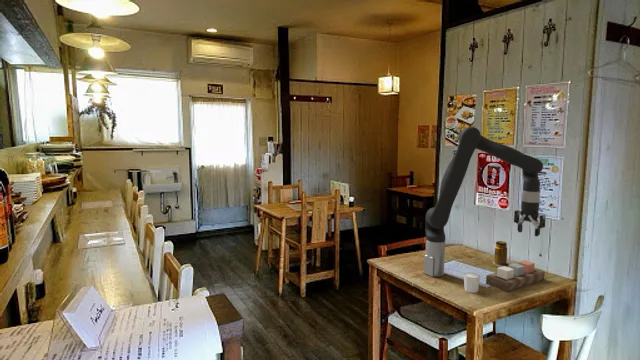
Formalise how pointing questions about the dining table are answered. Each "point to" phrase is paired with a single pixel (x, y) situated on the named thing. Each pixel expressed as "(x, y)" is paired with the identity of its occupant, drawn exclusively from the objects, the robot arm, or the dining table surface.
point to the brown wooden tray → (515, 280)
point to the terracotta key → (527, 266)
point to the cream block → (505, 272)
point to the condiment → (500, 254)
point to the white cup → (471, 282)
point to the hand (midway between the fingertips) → (528, 234)
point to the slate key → (517, 269)
